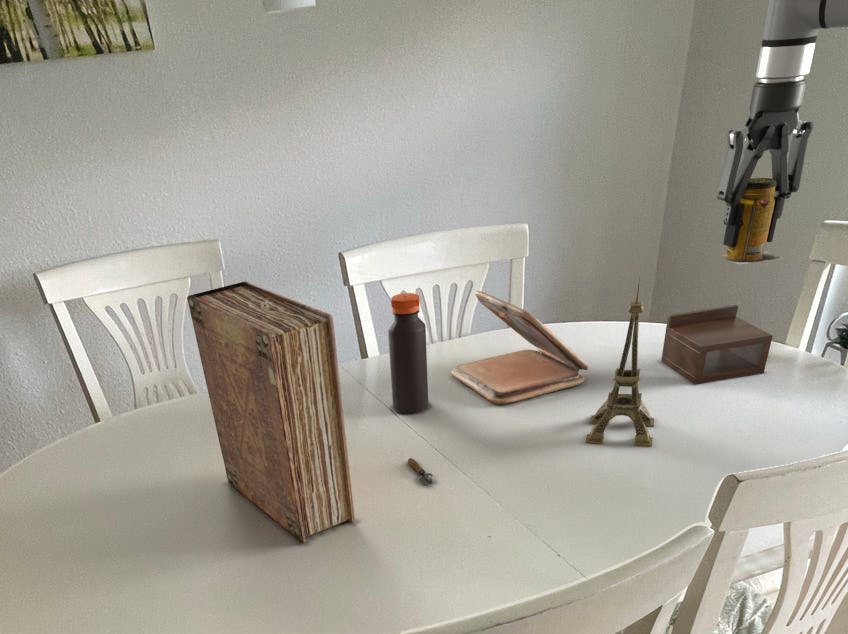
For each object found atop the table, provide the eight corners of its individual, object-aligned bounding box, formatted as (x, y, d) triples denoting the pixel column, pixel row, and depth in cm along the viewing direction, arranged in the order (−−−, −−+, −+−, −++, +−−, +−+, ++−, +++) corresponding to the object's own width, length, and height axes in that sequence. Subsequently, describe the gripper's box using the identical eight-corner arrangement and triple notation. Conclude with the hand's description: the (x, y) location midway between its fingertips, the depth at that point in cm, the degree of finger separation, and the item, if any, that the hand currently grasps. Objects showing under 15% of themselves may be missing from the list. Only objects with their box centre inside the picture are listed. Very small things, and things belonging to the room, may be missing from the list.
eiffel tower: (653, 419, 135) (677, 264, 119) (651, 446, 127) (676, 284, 112) (591, 417, 138) (606, 265, 122) (585, 442, 130) (600, 284, 115)
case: (592, 384, 149) (601, 296, 139) (497, 408, 144) (499, 319, 134) (535, 353, 165) (539, 272, 154) (446, 375, 159) (444, 292, 149)
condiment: (715, 256, 139) (729, 179, 131) (760, 250, 140) (776, 173, 132) (737, 266, 133) (753, 186, 126) (783, 259, 134) (802, 179, 126)
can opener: (407, 464, 130) (407, 458, 130) (420, 461, 131) (420, 455, 130) (423, 488, 123) (423, 481, 123) (437, 485, 124) (437, 479, 123)
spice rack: (764, 373, 147) (775, 324, 141) (694, 384, 145) (703, 335, 140) (726, 351, 157) (735, 304, 151) (660, 361, 155) (668, 315, 150)
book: (356, 523, 116) (333, 315, 98) (303, 545, 113) (269, 334, 94) (276, 465, 134) (243, 280, 115) (227, 483, 130) (186, 294, 111)
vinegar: (418, 397, 152) (414, 288, 139) (434, 408, 147) (431, 297, 134) (387, 405, 150) (379, 296, 137) (402, 417, 145) (395, 305, 132)
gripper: (821, 71, 124) (784, 231, 139) (710, 85, 122) (685, 245, 137) (853, 73, 118) (811, 240, 133) (737, 87, 116) (707, 255, 131)
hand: (747, 242), depth 135 cm, fingers closed on condiment, 6 cm apart
